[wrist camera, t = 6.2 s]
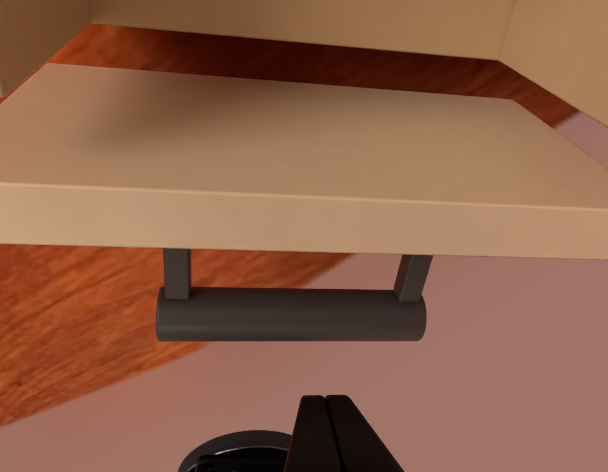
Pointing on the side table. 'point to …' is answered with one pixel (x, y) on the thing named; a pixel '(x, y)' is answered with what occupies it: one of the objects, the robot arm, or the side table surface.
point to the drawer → (302, 153)
